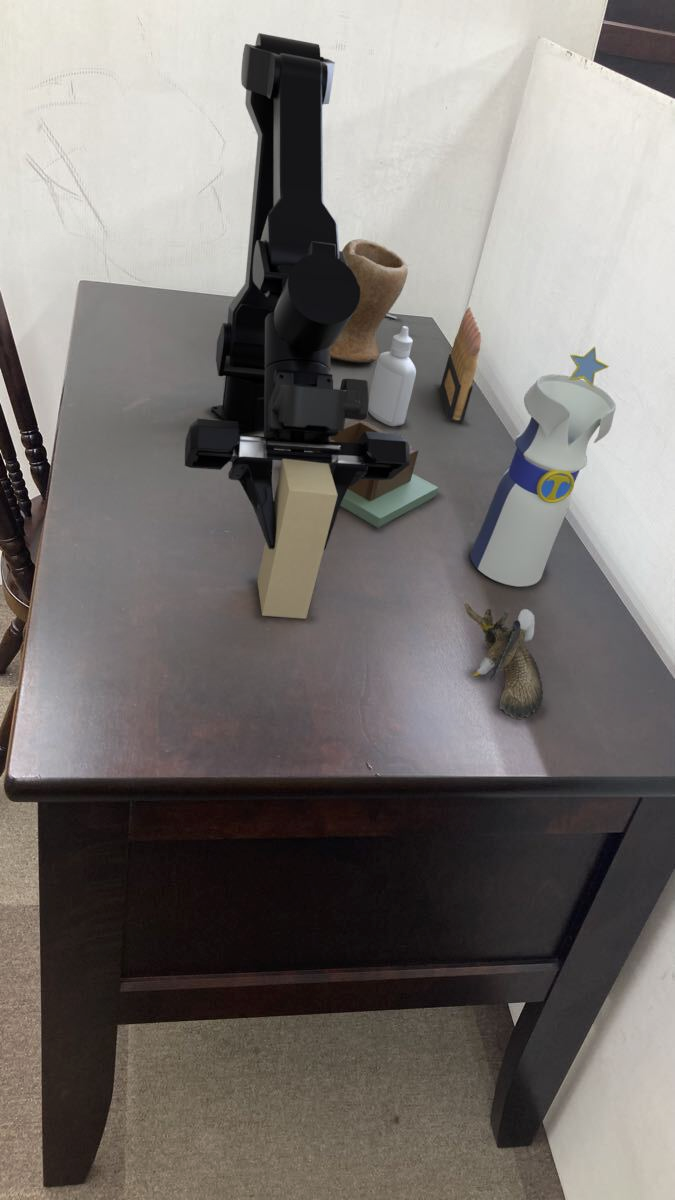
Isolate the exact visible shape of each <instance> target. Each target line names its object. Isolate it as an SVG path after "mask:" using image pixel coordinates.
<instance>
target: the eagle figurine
mask: <svg viewBox="0 0 675 1200" xmlns="http://www.w3.org/2000/svg"><path fill="white" fill-rule="evenodd" d="M464 609H465V611H466V614H467V615H468V616H469V617H470V619H472V620H473V621H474V622H475V623H477V625H478V626H479V627H480V628H481V629H482V632H483V634H484V638H485V640H484V641H485V643H486V646H487V647H488V648H489V649H488V650H487V652H486V655H485V656H484V658H483V659H482V661H481V662H480V664H479V666H478V667H477V669H476V671H475V672H473V673H472V676H473V677H478V676H480V675H481V676H483V675H487V673H489V672H490V671H491V670H492V669H493V671H492V673H491V674H490V677H489V681H490V682H491V681H493V680H494V679H495V678H496V677H497V674H498V672H499V671H500V670H502V669H504V672H505V675H504V688H503V691H502V693H501V696H500V700H499V704H498V708H499V709H500V710H503V712H504V714H506V715H510V717H511V718H512V719H515V720H516V719H518V720H523V719H524V717H526V718H528V717H530V716H531V714H532V713H536V711H537V709H539V708H540V706H541V705H542V701H543V695H544V690H543V682H542V676H541V673H540V669H539V666H538V665H537V662H536V660H535V658H534V657H533V655H532V654H531V652H530V650H529V649H528V648H527V647H526V645H525V642H529V641H532V640H533V638H534V635H535V625H536V619H535V614H534V613H533V612H532V611H531V610H530V609H527V608H523V609H521V610H520V611H519V613H518V616H517V618H516V620H514V621H513V622H512V628H511V629H510V630H508V626H504V625H505V624H507V623H508V617H509V611H508V609H506V610H505V611H504V613H503V615H502V616H501V618H500V619H498V620H497V621H496V622H495V623H494V615H493V609H492V608H487V609H486V610H485V611H484V613H483V617H481V616H480V614H478V613H477V612H475V611H474V610H473V608H472V606H471V605H470V604H469V603H467V602H465V603H464Z"/></svg>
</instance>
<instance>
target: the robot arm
mask: <svg viewBox="0 0 675 1200" xmlns="http://www.w3.org/2000/svg"><path fill="white" fill-rule="evenodd" d="M254 44H255V45H253V44H249V43H245V44H244V46H243V52H242V60H241V73H240V82H241V86H242V87H243V88H244V89H245V103H244V104H245V108H246V110H247V113H248V115H249V117H250V120H251V123H252V124H253V127H254V130H255V132H256V134H257V143H256V155H255V165H254V177H253V190H252V201H251V211H250V212H251V213H250V224H249V236H248V247H247V259H246V271H245V281H244V285H243V286H242V287H241V289H240V290H239V291H238V292H237V294H236V295H235V297H233V300H232V301H231V302H230V304H229V306H228V311H227V312H228V314H227V320H226V321H227V322H222V324H221V327H220V330H219V334H218V337H217V340H216V348H215V349H216V351H215V352H216V353H215V363H216V369H217V370H216V371H217V376H218V377H225V378H224V387H223V395H222V396H223V397H222V404H219V405H213V406H211V409H210V411H211V413H212V414H213V415H215V417H217V418H218V419H207V418H196V419H195V420H194V421H192V423H191V424H190V425H189V427H188V431H187V434H186V437H185V444H184V466H185V467H187V468H190V469H199V470H200V469H203V470H215V471H216V470H220V471H221V470H222V469H223V468H224V467H225V466H226V465H228V463H231V467H230V469H229V471H228V480H232V481H238V482H239V483H240V485H241V487H242V489H243V490H244V492H245V494H246V497H247V498H248V500H249V502H250V504H251V506H252V508H253V511H254V513H255V516H256V518H257V521H258V524H259V526H260V529H261V532H262V534H263V537H264V540H265V542H267V545H268V548H269V549H274V548H275V541H276V522H275V511H274V491H273V465H274V461H282V459H292V460H300V461H309V462H317V463H327V464H329V467H330V470H331V474H332V477H333V481H334V484H335V488H336V491H337V495H338V496H337V500H336V504H335V508H334V512H333V516H332V519H331V523H330V527H329V531H328V535H327V539H326V543H325V547H324V551H326V549H327V547H328V543H329V540H330V536H331V534H332V532H333V528H334V525H335V522H336V519H337V516H338V512H339V510H340V507H341V506H340V504H341V502H342V500H343V497H344V495H345V493H346V491H347V489H348V487H350V486H353V485H354V484H355V483H356V482H357V481H359V480H360V479H374V480H388V479H392V478H394V477H395V476H396V475H397V474H399V473H400V472H401V471H402V470H404V469H405V468H406V467H408V466H409V465H410V446H411V445H410V444H409V442H408V440H407V439H406V438H405V436H404V435H403V434H401V433H391V432H386V433H378V432H364V433H363V434H362V435H361V436H360V437H359V438H358V440H357V441H356V442H355V443H344V442H330V436H336V435H337V434H338V433H339V430H342V431H343V430H344V427H345V423H346V420H355V419H358V420H363V421H365V420H367V418H368V413H369V411H368V405H369V396H370V390H369V380H368V379H357V378H343V379H342V380H341V383H340V388H339V389H337V388H334V379H333V374H332V373H331V357H330V346H331V345H333V344H334V343H335V342H336V340H337V339H338V337H339V336H340V334H341V332H342V331H343V329H344V328H345V326H346V324H347V323H348V321H349V320H350V318H351V316H352V315H353V313H354V311H355V310H356V308H357V306H358V303H359V300H360V286H359V284H358V282H357V279H356V277H355V275H354V273H353V272H352V270H351V269H350V268H349V267H348V265H347V262H346V259H345V256H344V253H343V252H342V251H341V250H340V241H339V228H338V222H337V220H335V219H336V218H334V217H333V215H332V213H331V212H330V211H329V209H328V207H327V206H326V204H325V202H324V159H323V158H324V156H323V155H324V154H323V153H324V151H323V150H324V147H323V144H324V143H323V139H324V138H323V105H329V104H330V99H331V92H332V85H333V77H334V72H335V63H336V62H335V61H332V60H331V59H329V58H325V57H324V56H321V47H320V44H318V43H314V42H309V41H303V40H298V39H293V38H288V37H282V36H277V35H272V34H266V33H261V32H258V34H257V37H256V39H255V43H254ZM262 431H263V436H262V435H261V436H259V435H249V434H252V433H257V432H262ZM409 445H410V446H409ZM305 451H312V452H305ZM317 451H320V453H316V452H317Z"/></svg>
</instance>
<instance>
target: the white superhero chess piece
mask: <svg viewBox="0 0 675 1200" xmlns="http://www.w3.org/2000/svg"><path fill="white" fill-rule="evenodd" d="M596 350H597V349H596V346H593V347H592V348H591V349H590V350H589V351H588V352H586V354H584V355H580V354H574V353H573V354H571V353H570V355H569V357H570V358H571V360H572V361H573V363H574V365H575V366H576V368H575V369H574V371H573V373H572V374H571V376H569V375H564V374H557V373H555V374H544V375H542V376H540V377H539V378H538V379H536V381H535V382H534V383H533V384H532V385H531V386H530V387H529V388H528V390H527V391H526V393H525V394H524V396H523V404H524V407H525V409H526V412H527V413H528V415H529V416H530V420H529V422H528V425H527V426H526V427H525V429H524V430H523V431H522V432H520V433H519V434H518V435H517V436H516V437H515V440H514V444H515V447H516V450H515V451H514V454H513V457H512V460H511V462H510V466H509V468H508V469H507V470H506V471H505V472H504V473H503V474H502V476H501V478H500V480H499V483H498V485H497V487H496V489H495V491H494V494H493V496H492V499H491V502H490V504H489V507H488V510H487V512H486V515H485V517H484V520H483V522H482V524H481V527H480V529H479V531H478V533H477V535H476V538H475V541H474V542H473V545H472V547H471V549H470V553H469V557H470V560H471V562H472V564H473V565H474V567H475V568H476V569H477V570H478V571H479V572H480V573H481V574H483V575H484V576H486V577H488V579H489V578H490V579H491V580H493V581H495V582H497V583H500V584H503V585H507V586H512V587H519V588H520V587H530V586H534V585H535V584H537V583H538V582H540V580H542V577H543V574H544V572H545V569H546V565H547V563H548V559H549V557H550V554H551V552H552V549H553V546H554V544H555V541H556V538H557V537H558V534H559V531H560V529H561V528H562V524H563V522H564V519H565V517H566V515H567V512H568V509H569V506H570V503H571V498H572V492H573V490H574V487H575V482H576V480H577V478H578V475H579V473H580V471H582V470H583V469H584V468H586V466H587V464H588V456H587V448H588V445H589V442H590V440H591V438H592V437H593V436H594V434H595V433H596V431H597V429H598V428H599V429H598V433H597V436H596V438H595V439H594V441H593V444H596V443H597V442H599V441H600V440H602V439H603V438H604V437H606V436H607V435H608V433H609V432H610V430H611V429H612V426H613V425H612V424H613V420H614V416H615V412H616V408H617V405H616V402H615V401H614V400H613V398H612V397H611V395H610V394H609V393H607V392H606V391H605V390H604V389H602V388H600V387H599V386H597V385H595V384H594V382H595V375H596V373H598V372H601V371H603V370H605V369H608V368H610V365H608V364H606V363H604V362H602V361H601V360H598V359H597V351H596Z"/></svg>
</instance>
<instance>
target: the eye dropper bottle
mask: <svg viewBox="0 0 675 1200" xmlns="http://www.w3.org/2000/svg"><path fill="white" fill-rule="evenodd" d="M413 342H414V340H413V339H412V337H411V336H410V335H409V327H408V326H407V325H403V326H402V328H401V330H400V332H399V333H397V334H394V335H393V336H392V341H391V345H390V350H389V351H383V352H381V353H380V354H379V355H378V358H377V359H376V364H375V368H374V373H373V377H372V382H371V387H370V390H369V405H368V413H369V414H370V415H371V416H372V417H373V418H374V419H375V420H377V421H378V422H380V423H382V424H384V425H386V426H389V427H397V426H403V425H405V422H406V418H407V414H408V410H409V406H410V401H411V398H412V393H413V389H414V385H415V381H416V375H417V369H416V366H415V364H414V362H413V360H412V359H411V358H410V354H411V351H412V346H413Z"/></svg>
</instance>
